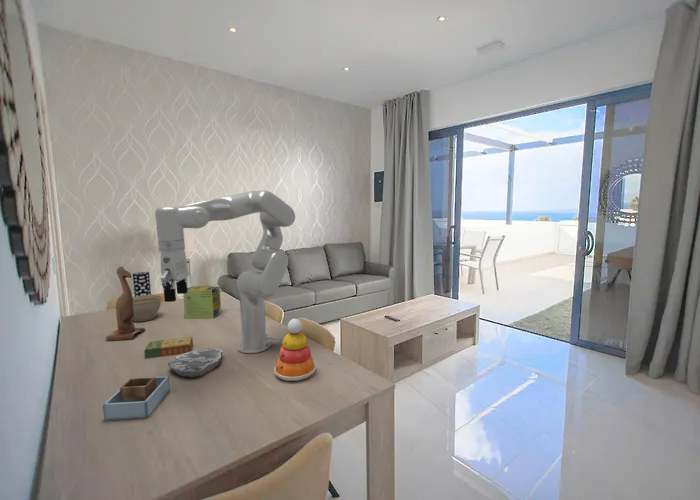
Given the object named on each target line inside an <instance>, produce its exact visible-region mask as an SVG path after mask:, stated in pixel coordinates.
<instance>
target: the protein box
mask: <svg viewBox="0 0 700 500" xmlns="http://www.w3.org/2000/svg"><path fill="white" fill-rule="evenodd" d="M182 296H183V310H184V319H189V320H190V319H195V320H196V319H205V320H206V319H210V318H211V319H212V318H213V319H215V318H216V317H218V316H219V315H220V314H222V305H221V304H222V303H221V287H220V285H219V284H218V285H217V284H216V285H215V284H214V285H212V284H211V285H207V284H206V285H205V284H204V285H192V286H188V287H187V293H184V294H183V295H182ZM218 314H219V315H218Z"/></svg>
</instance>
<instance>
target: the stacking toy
mask: <svg viewBox="0 0 700 500" xmlns="http://www.w3.org/2000/svg"><path fill="white" fill-rule="evenodd" d="M302 328H303V327H302V322H301V321H300V320H299V319H297V318H292V319H290V320H289V322H288V324H287V331H288V333H287V334H286V335H285V336H284V337H283V339H282V342H281V347H280V350H279V352H278V359H277V360H276V364H275V366H274V368H273V372H274V374H275V376H277V378H279V379H280V380H281V379H282V380H283V381H290V382H292V381H293V382H294V381H300V380H304V379H307V378H309V377H311V376H312V375H313V374H314V373H315V371H316V369H317V365H316V363H315V362H314V359H313V356H312V352H311V351H312V350H311V348H310V345H308V343H309V342H308V339H307V337H306V336H305V334H304V333H302V332H301V331H302Z"/></svg>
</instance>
